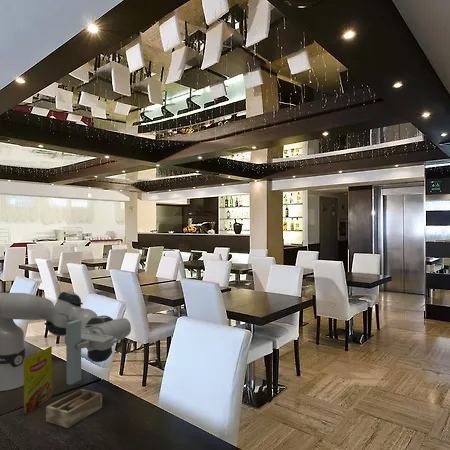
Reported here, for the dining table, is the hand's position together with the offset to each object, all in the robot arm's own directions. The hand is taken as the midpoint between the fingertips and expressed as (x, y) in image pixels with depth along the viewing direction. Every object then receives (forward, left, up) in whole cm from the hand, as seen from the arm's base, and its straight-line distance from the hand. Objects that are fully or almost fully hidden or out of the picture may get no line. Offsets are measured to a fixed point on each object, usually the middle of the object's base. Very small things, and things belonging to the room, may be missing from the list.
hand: (72, 346), depth 138 cm
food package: (-15, -3, -24) cm, 28 cm away
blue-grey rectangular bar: (0, 0, -13) cm, 13 cm away
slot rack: (+3, -2, -23) cm, 24 cm away
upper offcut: (+5, -2, -21) cm, 22 cm away
